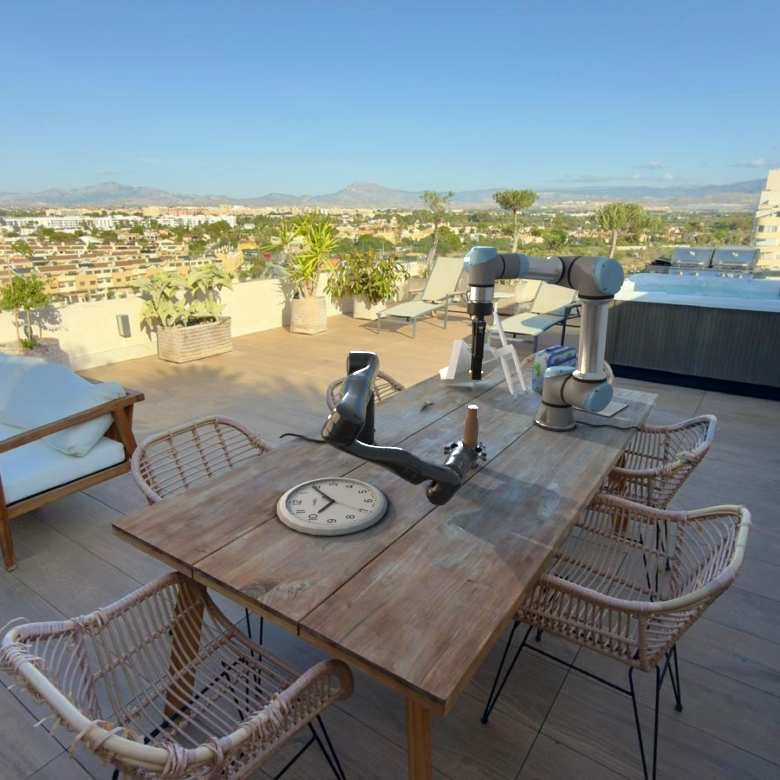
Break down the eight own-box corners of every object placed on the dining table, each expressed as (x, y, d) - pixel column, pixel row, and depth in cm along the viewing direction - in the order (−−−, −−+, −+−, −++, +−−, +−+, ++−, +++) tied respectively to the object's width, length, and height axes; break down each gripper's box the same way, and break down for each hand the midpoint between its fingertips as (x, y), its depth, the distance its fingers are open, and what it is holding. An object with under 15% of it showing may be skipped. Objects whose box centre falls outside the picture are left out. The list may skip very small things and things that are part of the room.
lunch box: (548, 398, 236) (553, 353, 229) (527, 393, 243) (531, 349, 237) (575, 387, 253) (581, 344, 247) (555, 382, 260) (560, 341, 254)
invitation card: (608, 416, 214) (573, 407, 224) (608, 416, 214) (573, 408, 224) (628, 404, 229) (594, 396, 238) (628, 405, 229) (594, 397, 238)
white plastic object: (461, 429, 252) (437, 405, 227) (444, 352, 274) (420, 323, 250) (535, 404, 240) (518, 377, 215) (510, 326, 262) (492, 293, 237)
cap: (482, 379, 158) (482, 374, 157) (467, 378, 159) (468, 372, 158) (483, 376, 162) (483, 370, 161) (469, 374, 163) (469, 369, 162)
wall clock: (392, 527, 129) (268, 531, 127) (391, 533, 130) (269, 537, 127) (383, 473, 158) (282, 475, 155) (383, 478, 158) (282, 480, 156)
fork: (417, 411, 216) (418, 406, 216) (428, 400, 231) (428, 395, 230) (423, 412, 215) (424, 407, 215) (434, 400, 230) (434, 396, 229)
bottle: (467, 468, 166) (471, 410, 160) (458, 462, 170) (462, 405, 164) (478, 465, 168) (483, 407, 162) (470, 460, 172) (474, 403, 166)
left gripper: (483, 455, 151) (495, 434, 166) (436, 447, 156) (451, 428, 171) (481, 478, 153) (493, 456, 168) (435, 470, 158) (450, 449, 173)
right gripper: (465, 296, 162) (461, 369, 169) (469, 305, 145) (465, 385, 153) (489, 297, 161) (484, 370, 168) (497, 305, 145) (491, 386, 152)
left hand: (472, 442), depth 169 cm, fingers closed on bottle, 4 cm apart
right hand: (475, 377), depth 160 cm, fingers closed on cap, 4 cm apart
